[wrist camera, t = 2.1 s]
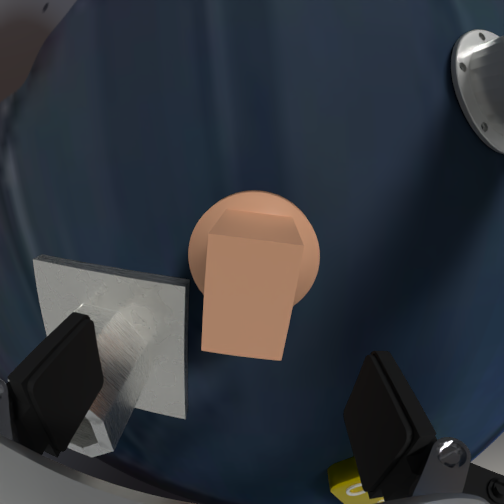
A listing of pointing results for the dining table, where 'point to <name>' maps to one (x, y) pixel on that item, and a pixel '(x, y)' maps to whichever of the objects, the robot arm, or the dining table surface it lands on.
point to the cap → (251, 271)
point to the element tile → (348, 483)
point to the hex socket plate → (122, 341)
